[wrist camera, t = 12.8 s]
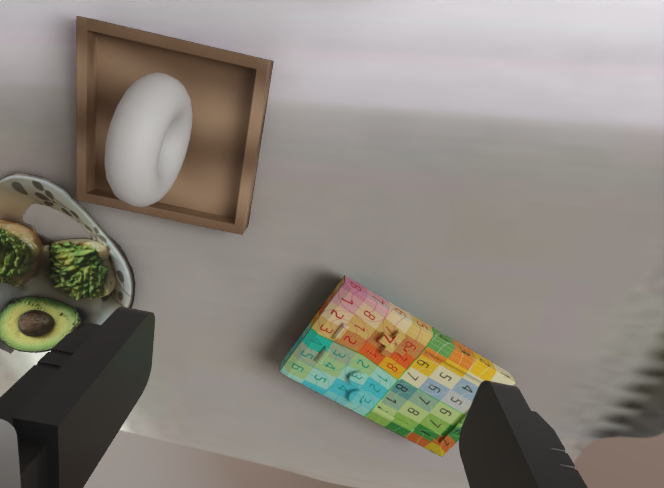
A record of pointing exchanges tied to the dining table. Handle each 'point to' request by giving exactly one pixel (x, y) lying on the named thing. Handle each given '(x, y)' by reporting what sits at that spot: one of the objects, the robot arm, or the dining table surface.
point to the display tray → (207, 120)
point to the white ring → (148, 139)
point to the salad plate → (54, 270)
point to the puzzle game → (389, 367)
